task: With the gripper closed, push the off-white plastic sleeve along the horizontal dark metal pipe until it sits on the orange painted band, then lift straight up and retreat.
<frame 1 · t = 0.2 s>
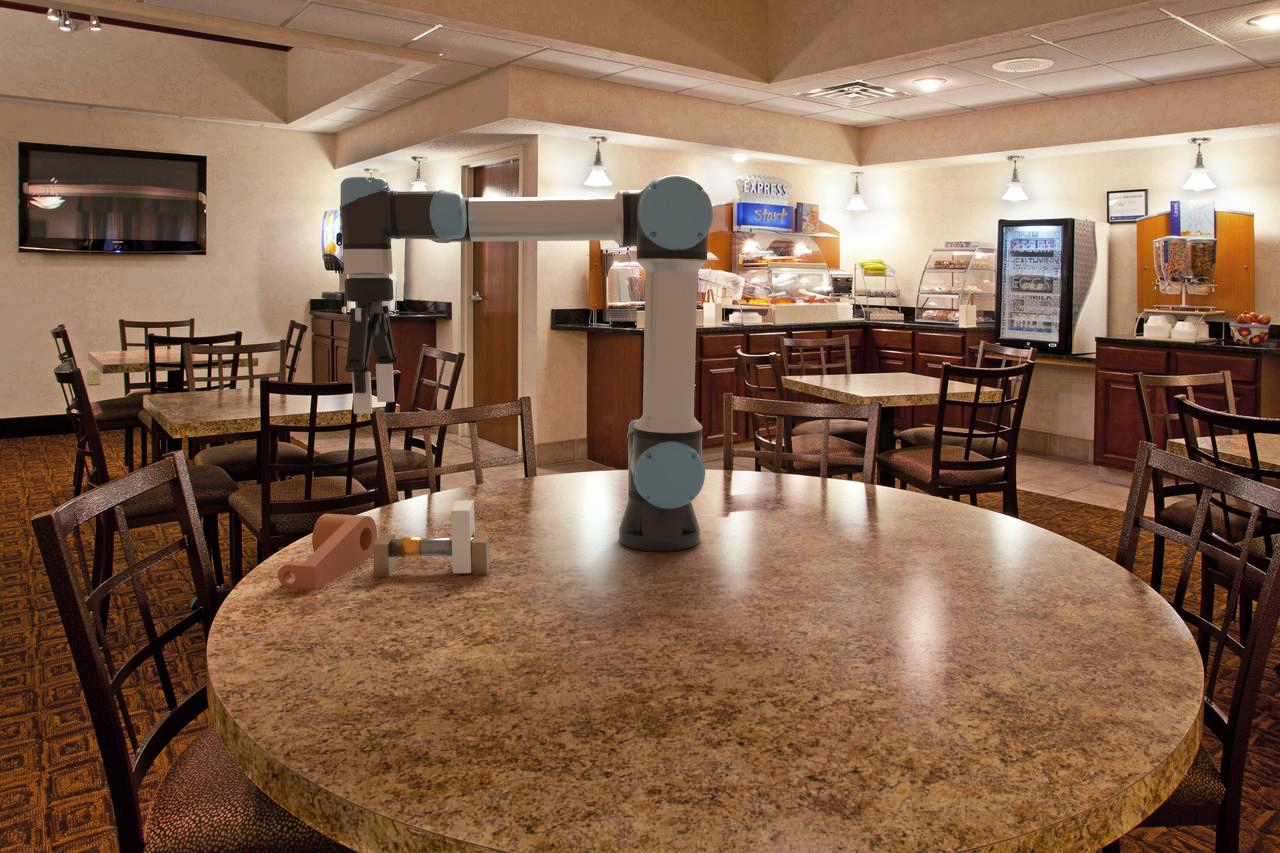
hand: (375, 407, 153), 28 cm above the table, fingers open, 13 cm apart
crank: (327, 571, 158), on the table
pipe rig: (433, 570, 157), on the table
sleeve: (463, 536, 156), point 6 cm above the table, slide at 0.4 cm
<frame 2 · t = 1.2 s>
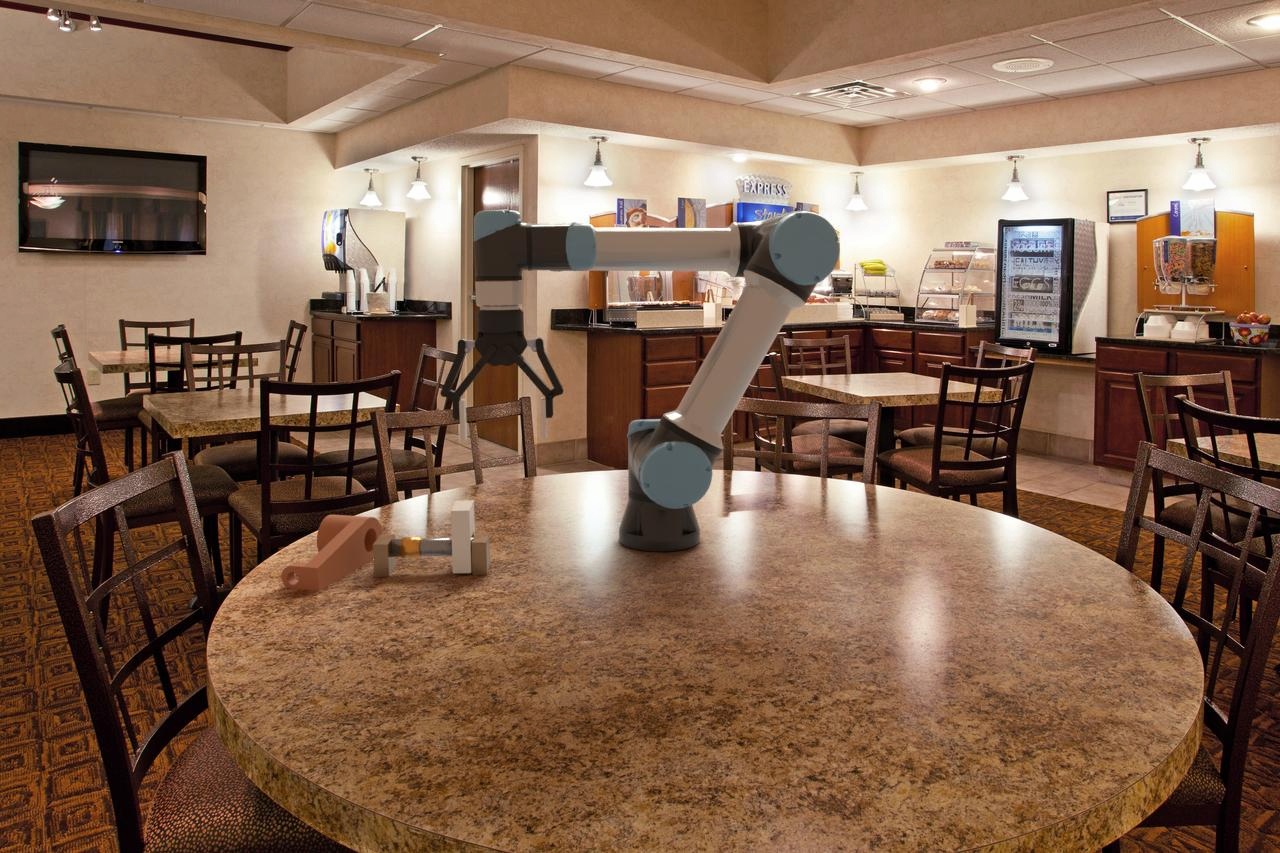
hand: (504, 438, 154), 22 cm above the table, fingers open, 12 cm apart
crank: (332, 572, 157), on the table
everything else where it was.
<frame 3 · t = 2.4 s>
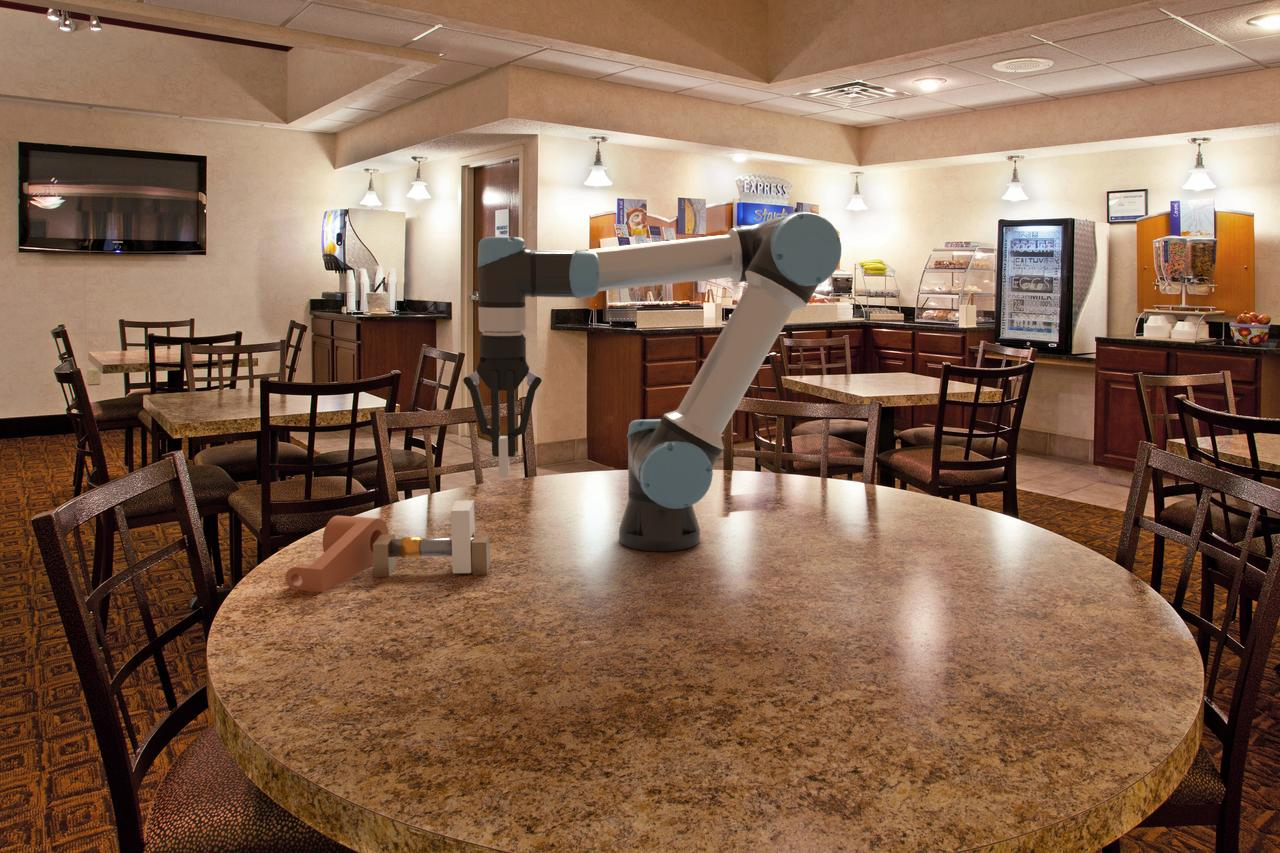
hand: (504, 475, 155), 16 cm above the table, fingers closed
crank: (337, 573, 157), on the table
everything else where it was.
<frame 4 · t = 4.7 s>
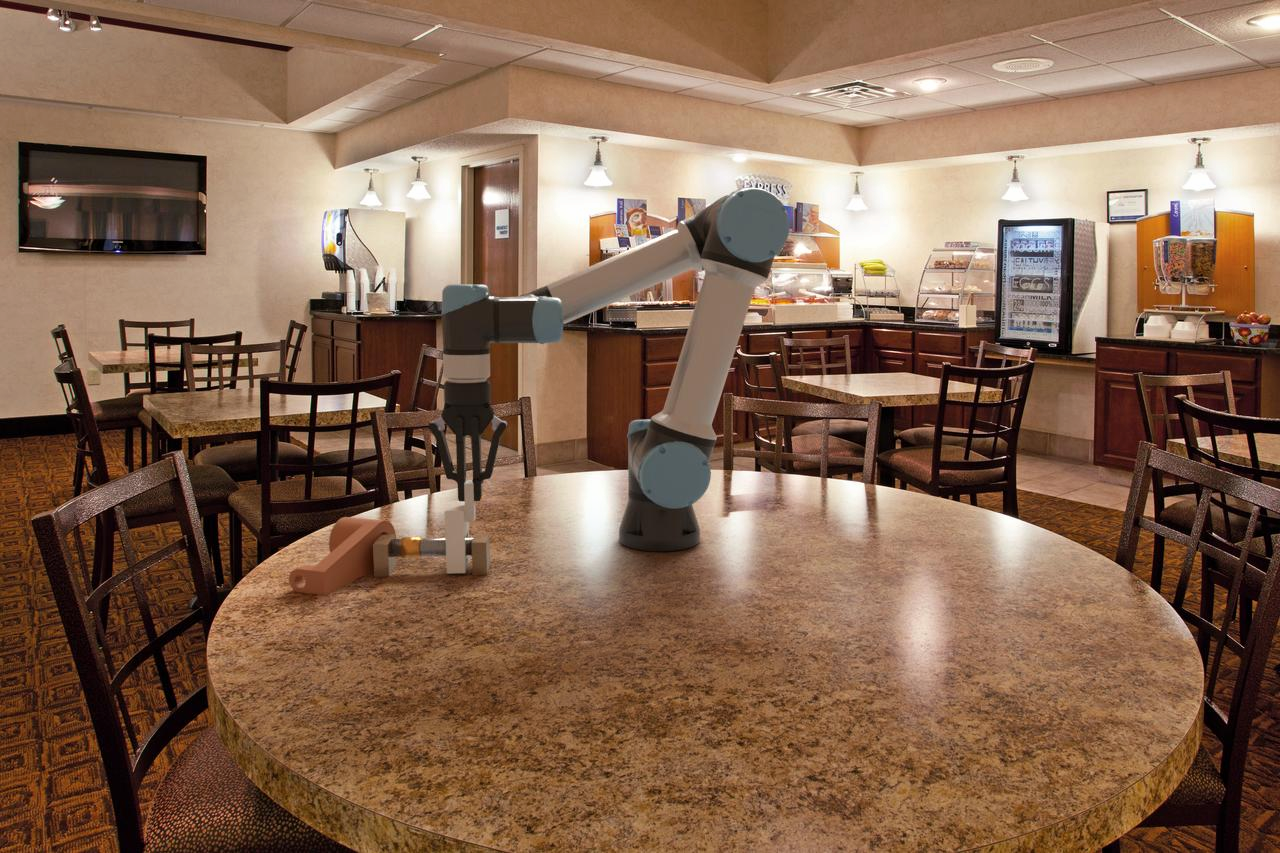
hand: (470, 519, 156), 9 cm above the table, fingers closed
crank: (342, 575, 155), on the table, touching pipe rig
sleeve: (457, 536, 156), point 6 cm above the table, slide at 1.3 cm, touching gripper
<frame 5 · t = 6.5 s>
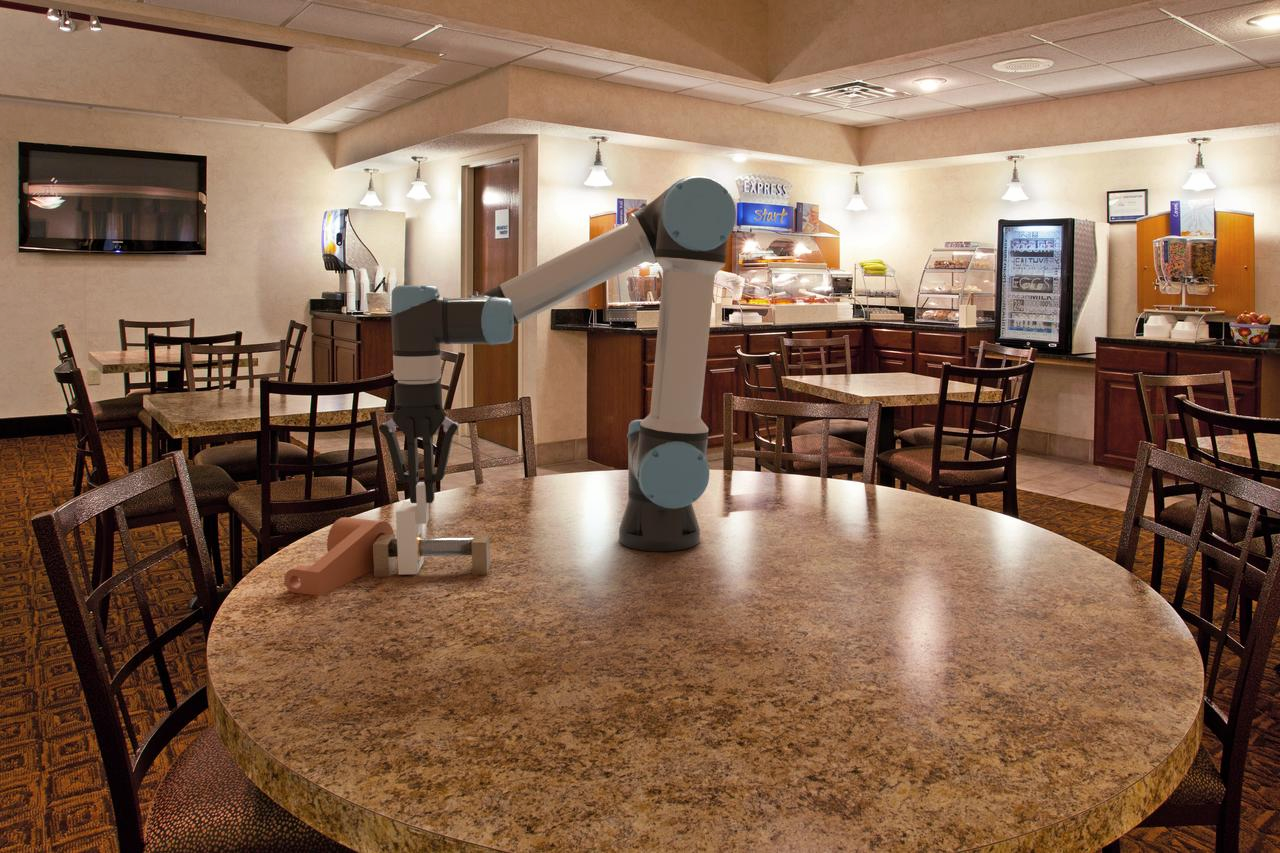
hand: (423, 521, 155), 8 cm above the table, fingers closed
crank: (340, 576, 155), on the table
sleeve: (410, 537, 156), point 6 cm above the table, slide at 9.2 cm, touching gripper
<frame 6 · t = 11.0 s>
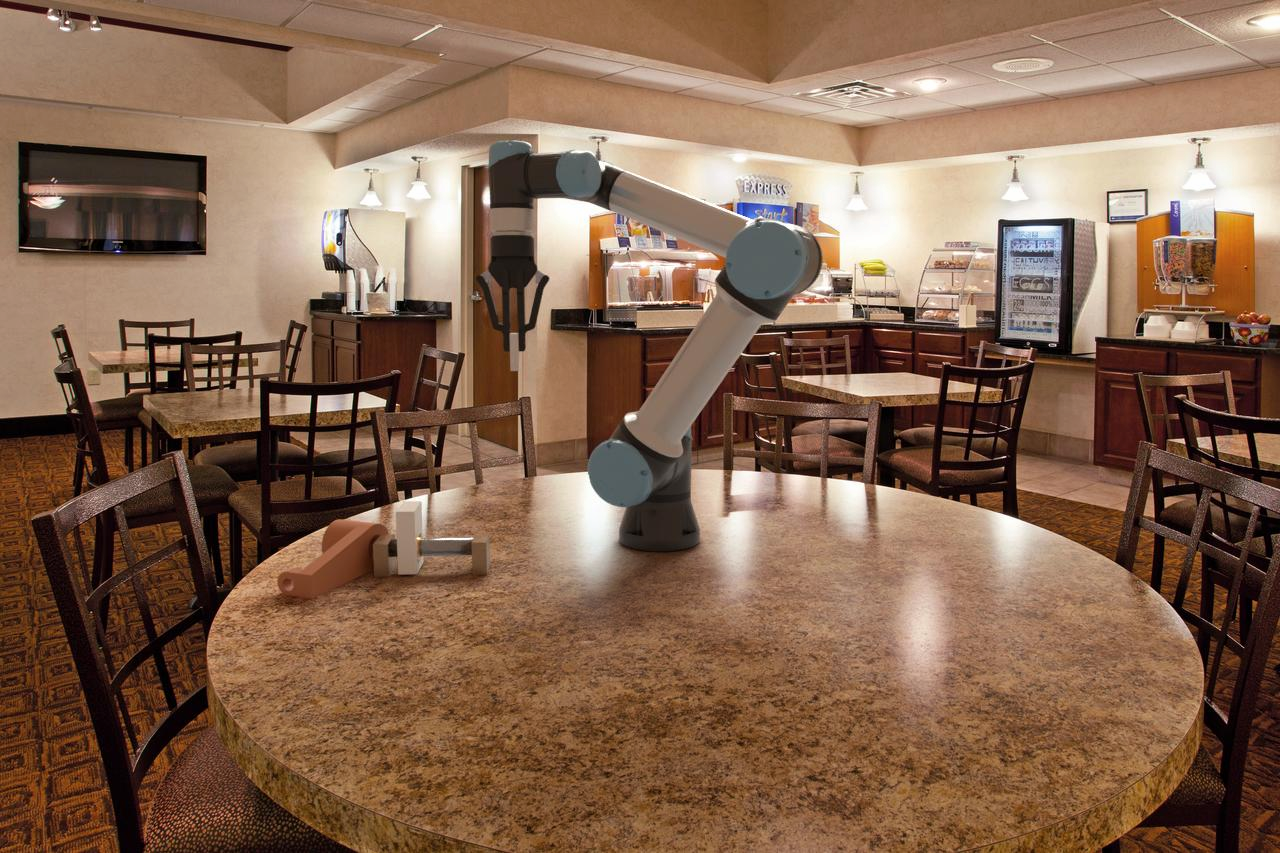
hand: (515, 370, 165), 32 cm above the table, fingers closed
crank: (334, 578, 154), on the table
sleeve: (410, 537, 156), point 6 cm above the table, slide at 9.2 cm
at the end: sleeve slide at 9.2 cm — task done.
